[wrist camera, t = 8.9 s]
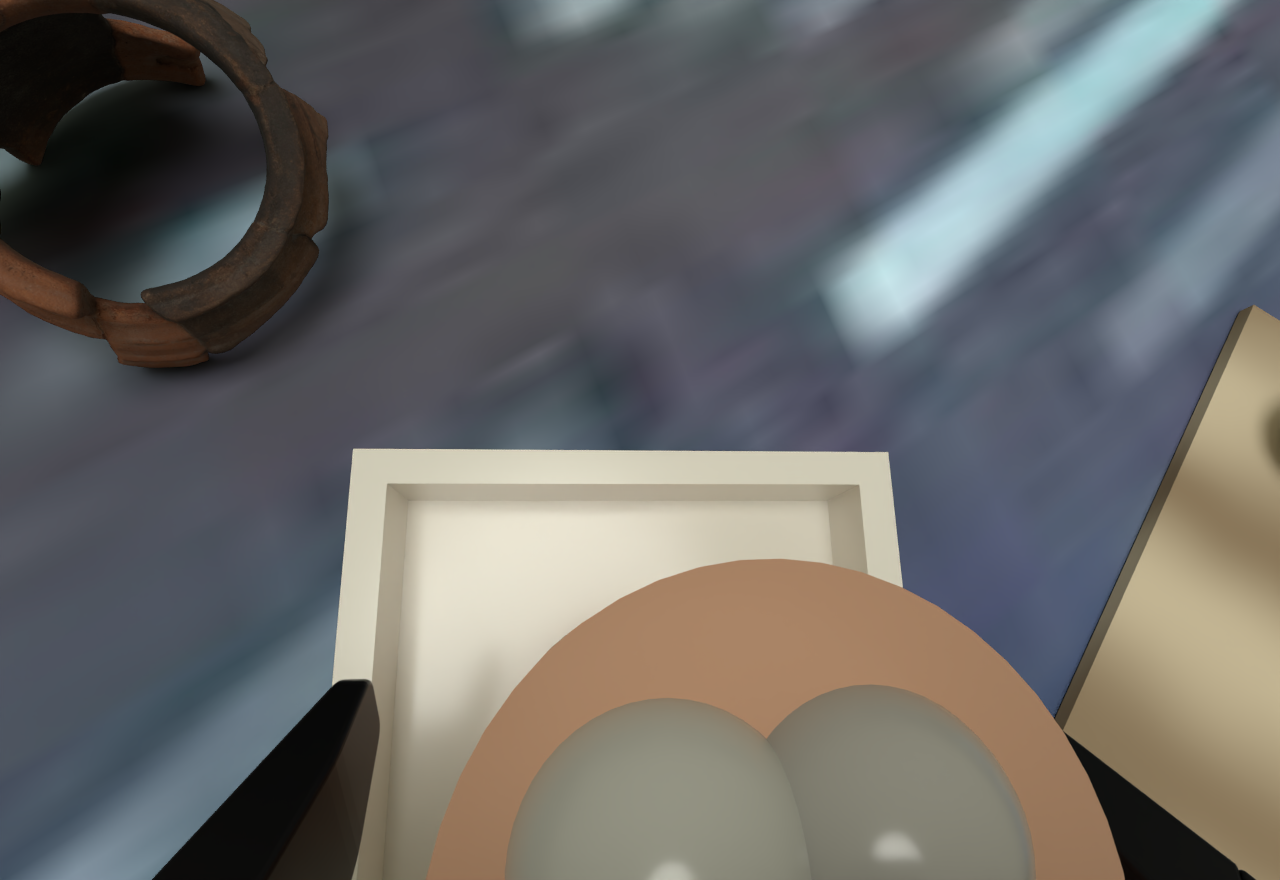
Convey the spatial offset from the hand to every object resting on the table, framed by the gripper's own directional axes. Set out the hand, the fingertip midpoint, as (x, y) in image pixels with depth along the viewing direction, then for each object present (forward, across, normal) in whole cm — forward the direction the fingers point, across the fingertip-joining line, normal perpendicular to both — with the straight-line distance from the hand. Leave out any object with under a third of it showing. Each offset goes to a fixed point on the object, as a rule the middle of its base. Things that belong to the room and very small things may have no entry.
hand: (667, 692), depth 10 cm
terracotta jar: (+5, 0, +7) cm, 8 cm away
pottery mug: (+15, +14, -2) cm, 21 cm away
